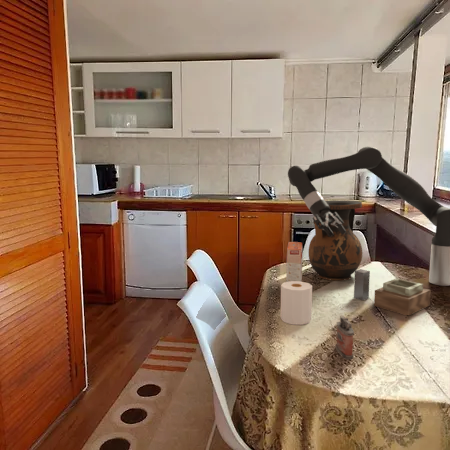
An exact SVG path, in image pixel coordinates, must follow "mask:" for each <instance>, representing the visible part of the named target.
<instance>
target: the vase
mask: <svg viewBox="0 0 450 450" xmlns="http://www.w3.org/2000/svg"><path fill="white" fill-rule="evenodd" d="M325 201H326V202H327V204H328V205H329V206H330V212H331V213H332V214H333V213H334V212H337V214H338V215H339V216H340V217H341V219H342V220H343V221H344V223H343V224H342V226H343V227H344V228H345V230H346V233H345V234H343V235H342V234H341V232H340V231H339V230H338V228H337V227H336V226H335V225H331V224H328V227H330V229H331V230H332V232H333V233H334V234H333V235H332V236H331V237H329V236H328V235H327V233H326V232H325V230H323V229H319V228H318V226H317V225H316V223H315V222H314V221H313V222H314V224H313V225H314V232H315V233H314V235H313V236H312V238H311V240H310V242H309V245H308V251H307V252H308V260H309V262H310V265H311V267H312V269H313V270H314V271H315V272H316V273H317V276H318V277H319V278H321V279H323V280H327V281H337V282H339V281H348V280H351V278H352V274H355V271H356V270H358V268H359V267H360V265H361V263H362V259H363V247H362V243H361V241H360V239H359V238H358V236H357V235H356V234H355V232H354V225H355V224H354V222H355V215H356V210H355V209H361V208H362V207H363V203H362V201H358V200H349V199H347V200H344V199H341V200H339V199H337V200H336V199H335V200H334V199H332V200H331V199H330V200H325ZM334 221H335V220H334ZM334 221H333V222H334ZM339 221H340V220H339ZM340 222H341V221H340ZM336 224H337V223H336ZM319 225H321V224H320V223H319ZM337 225H338V224H337Z"/></svg>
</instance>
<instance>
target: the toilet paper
mask: <svg viewBox="0 0 450 450" xmlns="http://www.w3.org/2000/svg"><path fill="white" fill-rule="evenodd" d="M312 308H313V285H312V284H311V283H309V282H305V281H290V282H286V281H284V282H282V284H281V285H280V319H281V320H282V322H283V323H285V324H289V325H297V326H299V325H301V326H302V325H306V324H307V325H308V324H310V322H311V321H312V318H313V317H312V314H313V313H312V312H313V311H312Z"/></svg>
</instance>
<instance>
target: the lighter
mask: <svg viewBox="0 0 450 450" xmlns="http://www.w3.org/2000/svg"><path fill="white" fill-rule="evenodd" d="M352 325H353V324H352V323H351V322H350V320H349V318H348V317H345V316H343V315H341V316H340V317H339V321H337V322H336V343H335V350H336V351H337V353H338V354H339V355H340V356H341V357H343V359H346V360H352V359H353V358H354V352H353V349H354V348H353V347H354V343H353V342H354V335H355V330H354V329H353V327H352Z"/></svg>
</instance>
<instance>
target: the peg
mask: <svg viewBox="0 0 450 450" xmlns="http://www.w3.org/2000/svg"><path fill="white" fill-rule="evenodd" d="M370 274H371V271H370V270H366V269H361V268H360V269H357V270H356V271H355V272H354V282H353V283H354V284H353V285H354V287H353V299H356V300H360V301H364V300H365V301H366V300H368V299H370V298H369V297H370V277H371V276H370Z"/></svg>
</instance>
